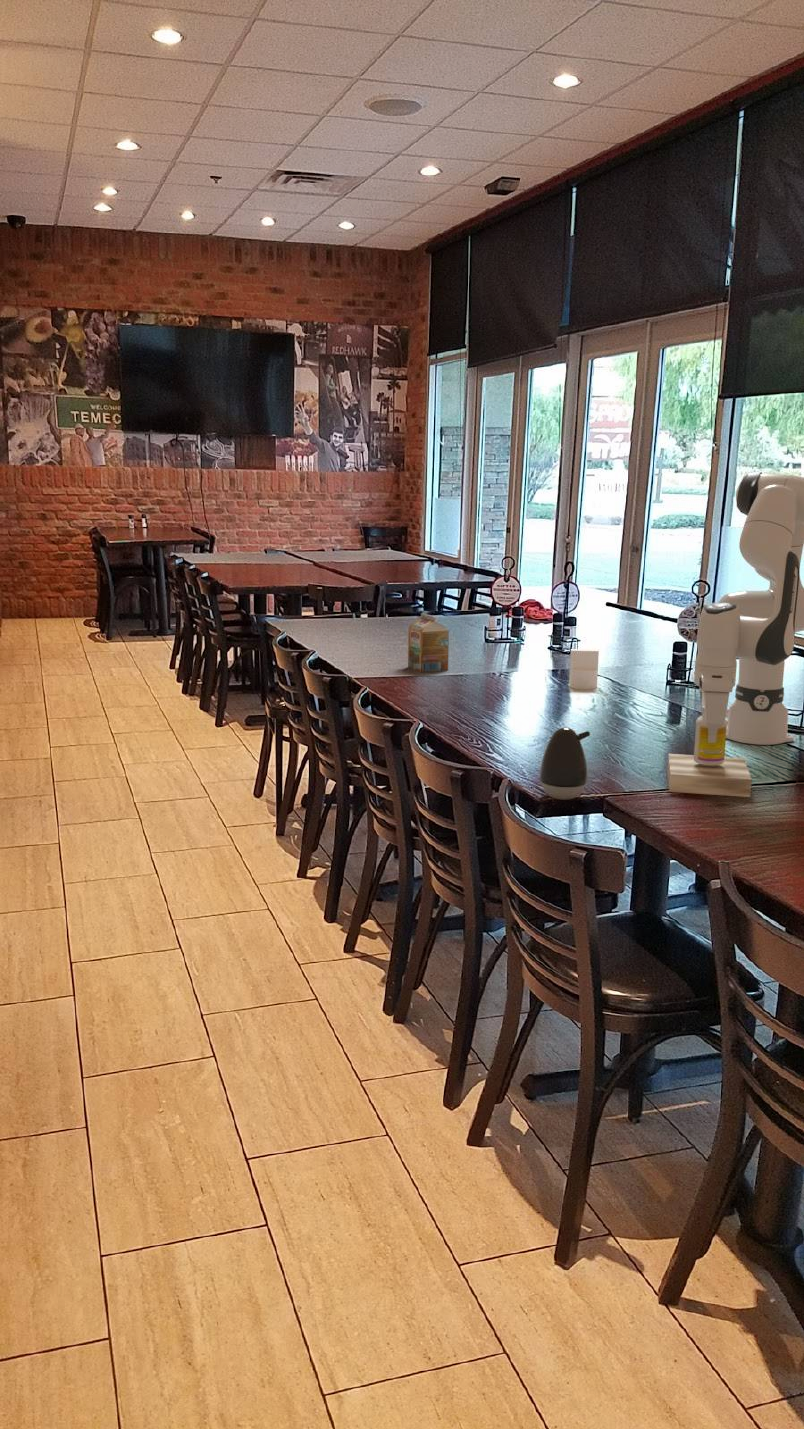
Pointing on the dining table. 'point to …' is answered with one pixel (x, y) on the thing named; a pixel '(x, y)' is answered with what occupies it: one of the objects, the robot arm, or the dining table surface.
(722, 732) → the supplement bottle
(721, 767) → the birch plinth
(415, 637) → the milk carton
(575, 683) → the base with upright slab
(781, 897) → the dining table surface
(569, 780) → the pump dispenser
